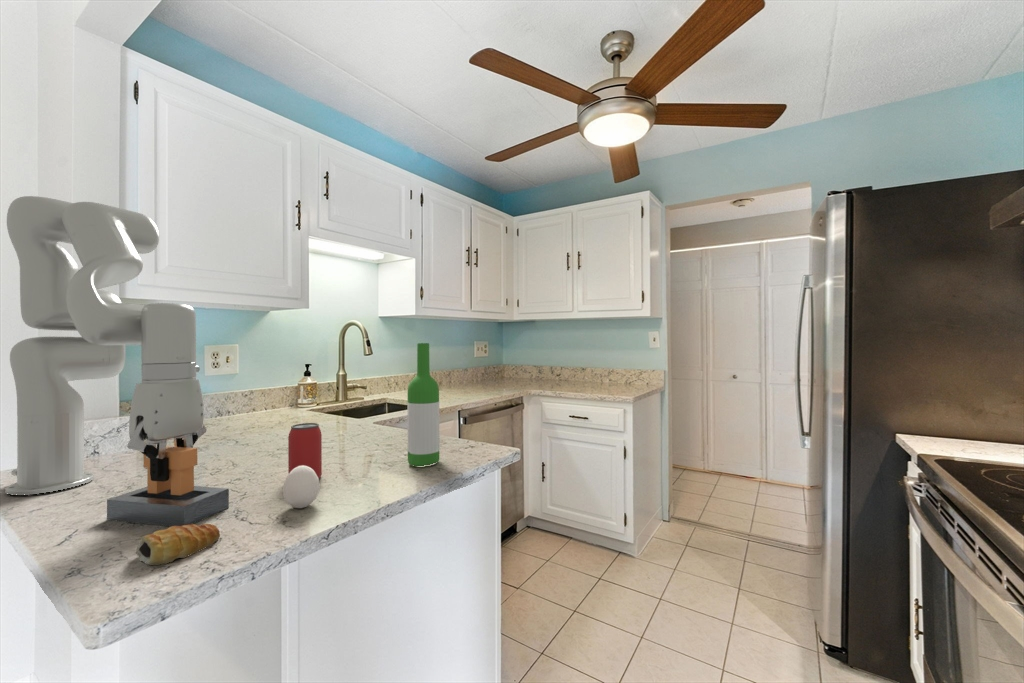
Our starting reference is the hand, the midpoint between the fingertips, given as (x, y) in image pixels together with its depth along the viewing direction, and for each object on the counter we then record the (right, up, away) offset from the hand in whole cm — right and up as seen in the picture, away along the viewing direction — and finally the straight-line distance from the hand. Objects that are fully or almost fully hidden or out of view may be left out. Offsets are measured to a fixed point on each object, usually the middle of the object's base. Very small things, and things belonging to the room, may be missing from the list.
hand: (170, 476), depth 75 cm
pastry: (+12, -7, -13) cm, 19 cm away
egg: (+22, -7, +3) cm, 23 cm away
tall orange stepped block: (0, -3, 0) cm, 3 cm away
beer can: (+15, -7, +18) cm, 25 cm away
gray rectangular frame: (0, -7, 0) cm, 7 cm away
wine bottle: (+39, -7, +30) cm, 49 cm away
